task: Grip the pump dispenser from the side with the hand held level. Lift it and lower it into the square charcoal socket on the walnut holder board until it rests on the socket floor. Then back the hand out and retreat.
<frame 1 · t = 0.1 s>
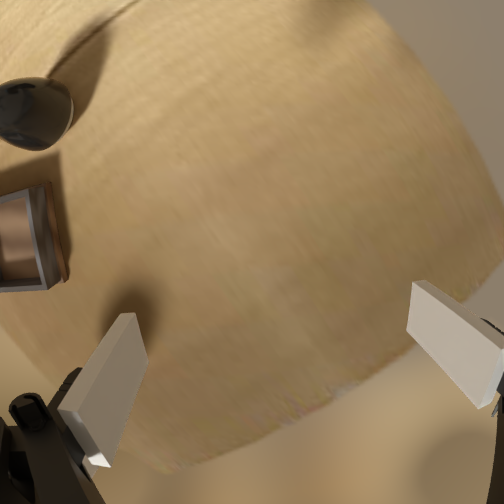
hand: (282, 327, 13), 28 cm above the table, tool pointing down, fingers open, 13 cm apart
holder: (24, 237, 39), on the table
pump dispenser: (55, 118, 35), on the table
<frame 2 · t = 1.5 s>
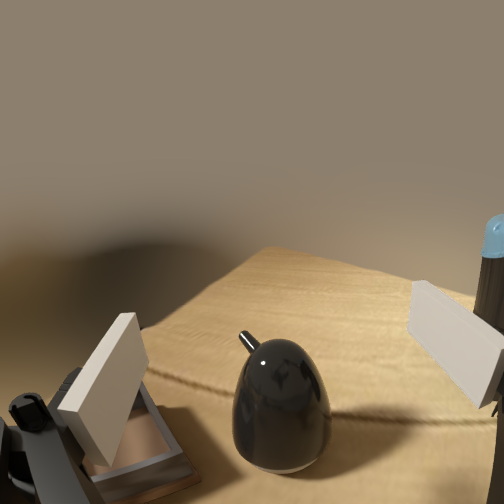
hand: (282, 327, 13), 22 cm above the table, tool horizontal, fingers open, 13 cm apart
holder: (119, 458, 28), on the table
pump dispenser: (283, 451, 29), on the table
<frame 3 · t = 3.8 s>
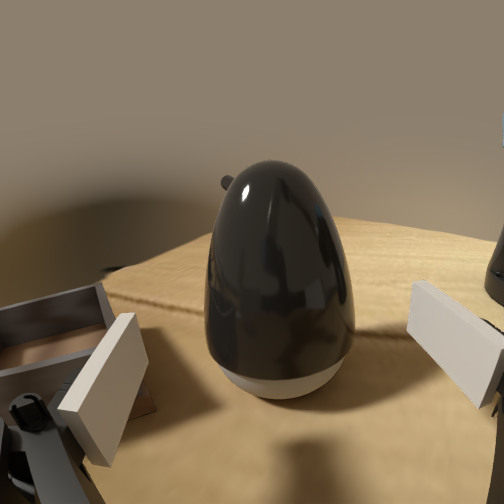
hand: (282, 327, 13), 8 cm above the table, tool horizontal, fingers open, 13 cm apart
holder: (56, 381, 21), on the table
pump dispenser: (281, 375, 22), on the table
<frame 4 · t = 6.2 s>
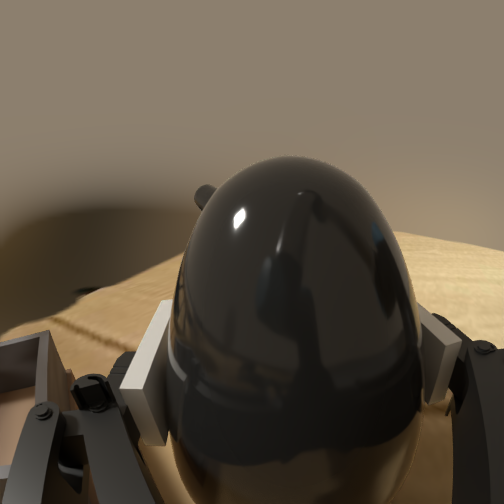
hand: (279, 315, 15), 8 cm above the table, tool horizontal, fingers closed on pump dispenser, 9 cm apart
holder: (0, 459, 11), on the table
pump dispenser: (294, 484, 12), on the table, touching gripper
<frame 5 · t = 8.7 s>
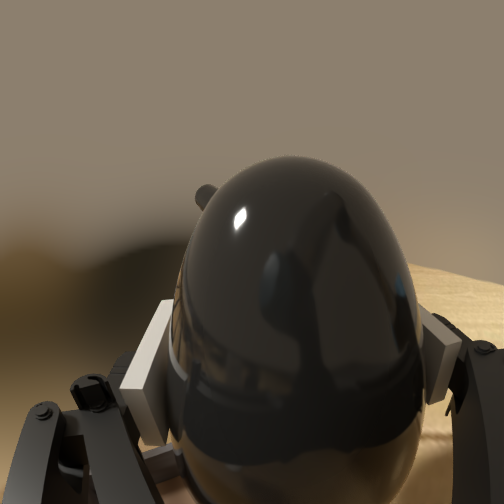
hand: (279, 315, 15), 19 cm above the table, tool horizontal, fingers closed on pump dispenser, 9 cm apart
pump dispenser: (294, 484, 12), point 11 cm above the table, touching gripper
when the fingers open (11 cm above the table, at t = 11.5 s): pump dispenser drops 1 cm, resting on holder.
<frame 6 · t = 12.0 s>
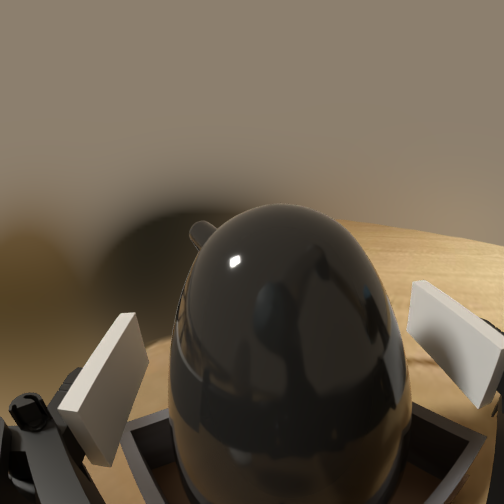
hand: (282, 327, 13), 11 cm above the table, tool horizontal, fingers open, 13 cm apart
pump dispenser: (294, 496, 13), point 1 cm above the table, touching holder
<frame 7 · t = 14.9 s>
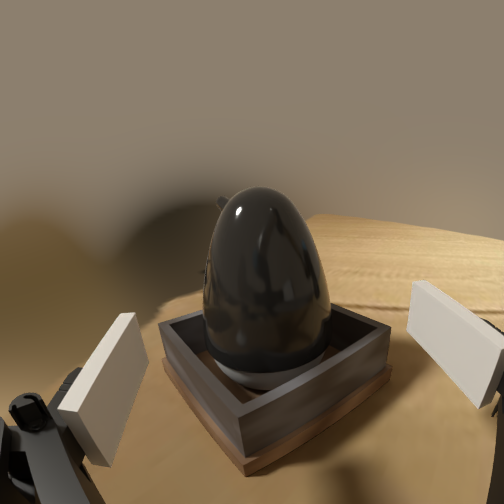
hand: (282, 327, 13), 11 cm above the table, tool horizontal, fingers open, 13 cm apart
holder: (271, 381, 26), on the table
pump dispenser: (270, 370, 25), point 1 cm above the table, touching holder
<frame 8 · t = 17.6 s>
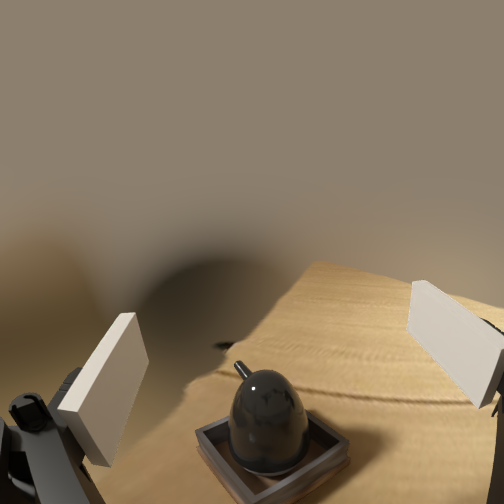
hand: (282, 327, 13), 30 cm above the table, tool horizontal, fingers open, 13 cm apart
holder: (271, 462, 35), on the table
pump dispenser: (270, 458, 34), point 1 cm above the table, touching holder
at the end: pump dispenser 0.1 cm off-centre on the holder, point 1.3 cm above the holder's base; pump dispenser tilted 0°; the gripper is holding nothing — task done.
